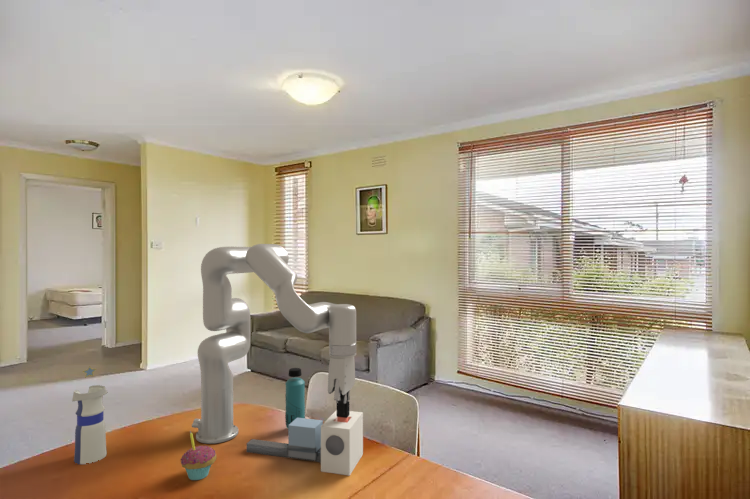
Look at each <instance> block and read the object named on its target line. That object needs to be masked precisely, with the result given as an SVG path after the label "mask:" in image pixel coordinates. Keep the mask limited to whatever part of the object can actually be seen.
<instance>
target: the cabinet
mask: <svg viewBox="0 0 750 499" xmlns="http://www.w3.org/2000/svg"><path fill="white" fill-rule="evenodd" d="M363 454H364V412H362V411H353V410H349V416H348V422H338V421H337V409H336V410H335V411H334V412H333V413H332V414H331V415H330V416H329V417H328V418H327V419H326V420H325V421H323V424H322V425H321V462H320V472H321V473H329V474H336V475H342V476H351V475H352V472H353V471H354V470H355V468H356V466H357V464H358V463H359V462H360V459H362V456H363Z"/></svg>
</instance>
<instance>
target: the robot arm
mask: <svg viewBox="0 0 750 499" xmlns="http://www.w3.org/2000/svg"><path fill="white" fill-rule="evenodd" d="M289 259H290V258H289V254H288V251H287V250H286V249H285V248H284V247H283V246H282V245H280V244H277V243H257V244H255V245H252V246H220V247H216V248H213V249H211V250H209V251H208V252H207V253H205V255H204V256H203V258H202V260H201V265H200V275H201V282H202V319H203V320H202V323H203V326H204V327H205V329H206V330H208V331H209V332H210V331H211V332H219V331H223V330H224V331H225V332H222V333H218V334H214V335H211V336H209V337H207V338H205V339H203V340H202V341H201V342H200V344H199V345H198V347H197V358H198V362H199V363H198V364H199V370H200V392H201V393H200V397H201V398H200V399H201V401H200V402H201V403H200V404H201V407H200V408H201V409H200V412H201V414H200V415H201V416H200V418H194V419H193V422H192V424H191V428H197V429H198V430H197V432H196V434H195V439H196V441H198V442H199V443H201V444H209V445H210V444H211V445H212V444H220V443H224V442H228V441H230V440H232V439H234V438H236V436H238V435H239V427H238V426H237V425H234V376H233V373H232V369H231V368H230V366H229V363H232V362H234V361H237V360H239V359H240V360H241V359H242V358H244V357H245V356H246V355H247V354H248V353H249V351H250V349H251V348H250V347H251V311H250V307H249V305H248V304H247V302H246V301H245V300H244V299H241V298H237V297H233V296H232V285H231V282H230V280H229V278H228V276H227V275H234V274H247V273H255V275H257V276H258V278H259V279H260V281H262V282H263V283H264V284H265V285H266V286H267V287H268V288H269V289H270V291H272V292H273V293H274V295H275V297H274V298H275V302H276V305H277V308H278V310H279V312H280V313H281V315H282V316H283V317H284V319H286V320H287V321H288V322H289V324H291V325H292V326H293V328H295V330H296V329H297V330H298V331H299V332H300V333H304V334H311V333H314V332H317V331H321V330H325V329H328V348H329V349H328V351H329V352H328V356H329V363H328V364H329V365H328V377H327V393H328V394H329V395H331V394H333V393H334V396H333V399H334V401H335V403H336V410H337V417H344V418H347V417H348V416H349V411H350V397H351V389H353V387H354V386H355V384H356V364H355V363H356V361H355V357H356V356H357V309H356V307H355V305H352V304H349V303H339V304H337V303H332V302H327V301H320V302H315V303H310V304H308V303H307V302H306V301H305V300H304V299H302V298H301V297H300V295H299V294H298V293H297V292H296V289H295V288H294V286H295V285H296V283H297V281H298V274H297V272H296V271H295V270H294V269H293V268H292V267H291V266H290V265H288V263H289ZM232 297H233V298H232Z"/></svg>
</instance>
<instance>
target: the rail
mask: <svg viewBox="0 0 750 499" xmlns="http://www.w3.org/2000/svg"><path fill="white" fill-rule="evenodd" d="M245 446H246V449H245V450H246V453H252V454H258V455H266V456H270V457H271V456H272V457H279V458H280V457H281V458H286V459H293V460H300V461H301V460H302V461H310V462H316V463H321V448H320V449H319V450H318V451H317V452H316V460H311V459H304V458H296V457H289V456H288V443H285V442H278V441H270V440H263V439H262V440H261V439H255V438H252V439H250V440H249V441H247V442H246V445H245Z"/></svg>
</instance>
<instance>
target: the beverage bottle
mask: <svg viewBox="0 0 750 499" xmlns="http://www.w3.org/2000/svg"><path fill="white" fill-rule="evenodd" d="M288 377H290V378H288V379H287V381H285V384H284V385H285V391H284V392H285V396H284V398H285V401H284V402H285V416H284V420H285V427H286V428H287V429H288V425H289V424H290V423H292V422H293V421H294V420H295V419H296V418H306V400H305V399H306V398H305V391H306V390H305V388H306V387H305V386H306V382H305V380H304V379H303V378H301V377H302V369H301V368H300V367H292V368H289V369H288Z"/></svg>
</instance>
